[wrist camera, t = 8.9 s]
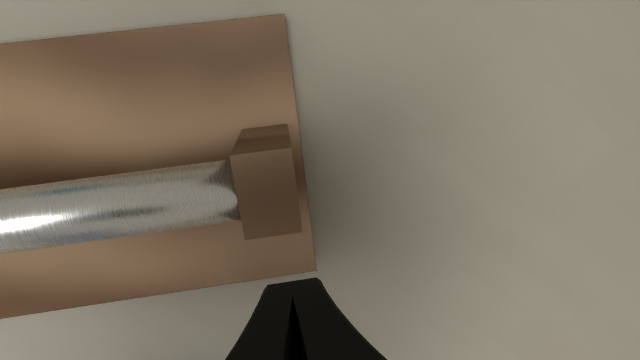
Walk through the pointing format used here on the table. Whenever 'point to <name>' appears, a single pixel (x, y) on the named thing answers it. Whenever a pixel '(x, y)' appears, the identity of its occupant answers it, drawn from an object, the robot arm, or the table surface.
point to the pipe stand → (149, 164)
